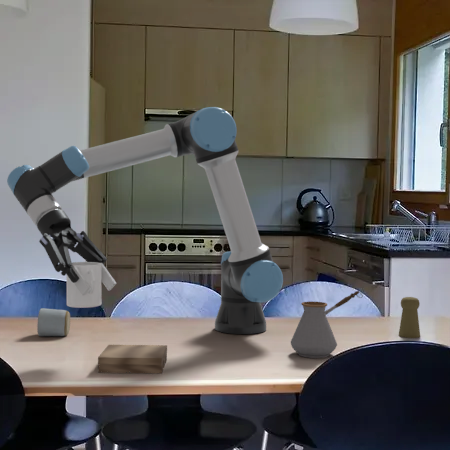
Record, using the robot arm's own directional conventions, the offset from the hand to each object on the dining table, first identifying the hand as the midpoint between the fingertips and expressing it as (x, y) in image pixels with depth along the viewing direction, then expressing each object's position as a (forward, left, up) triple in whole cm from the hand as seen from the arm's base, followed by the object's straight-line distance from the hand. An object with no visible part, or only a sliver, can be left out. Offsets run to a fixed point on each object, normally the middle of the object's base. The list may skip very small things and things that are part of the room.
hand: (99, 289), depth 162 cm
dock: (-8, +3, -17) cm, 19 cm away
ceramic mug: (+19, -31, -18) cm, 41 cm away
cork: (-81, -36, -18) cm, 91 cm away
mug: (+3, -1, -4) cm, 6 cm away
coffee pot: (-55, -14, -18) cm, 60 cm away
